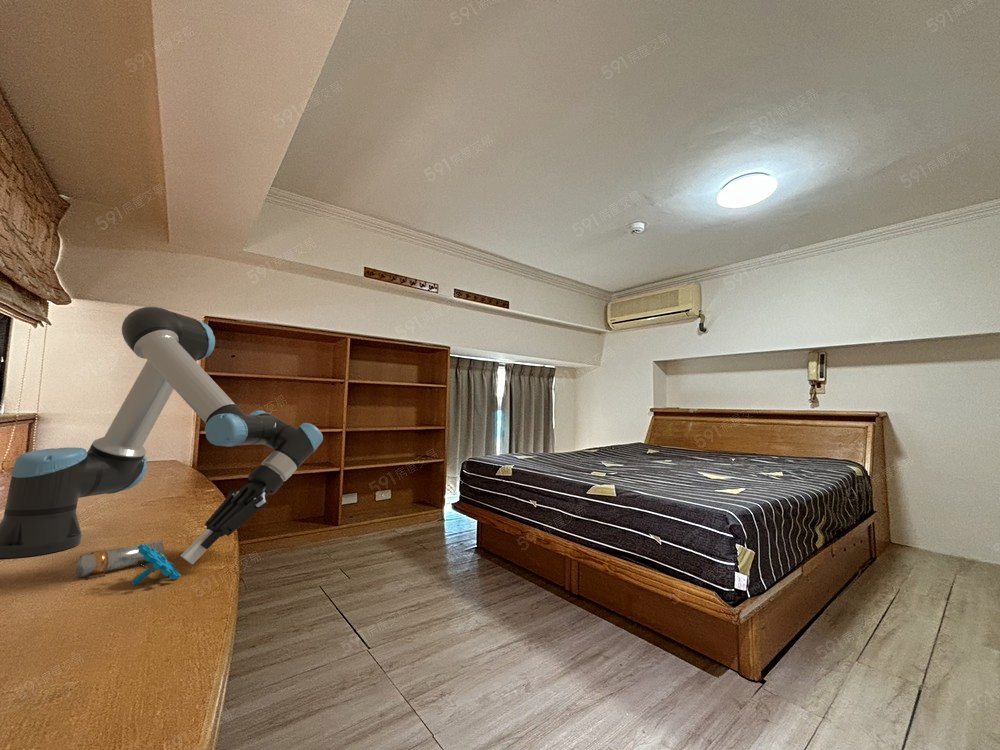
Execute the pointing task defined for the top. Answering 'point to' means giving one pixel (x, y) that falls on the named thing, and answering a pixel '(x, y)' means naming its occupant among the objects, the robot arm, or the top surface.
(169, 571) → the gear
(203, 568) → the top surface
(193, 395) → the robot arm
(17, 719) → the top surface
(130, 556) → the guide pipe
